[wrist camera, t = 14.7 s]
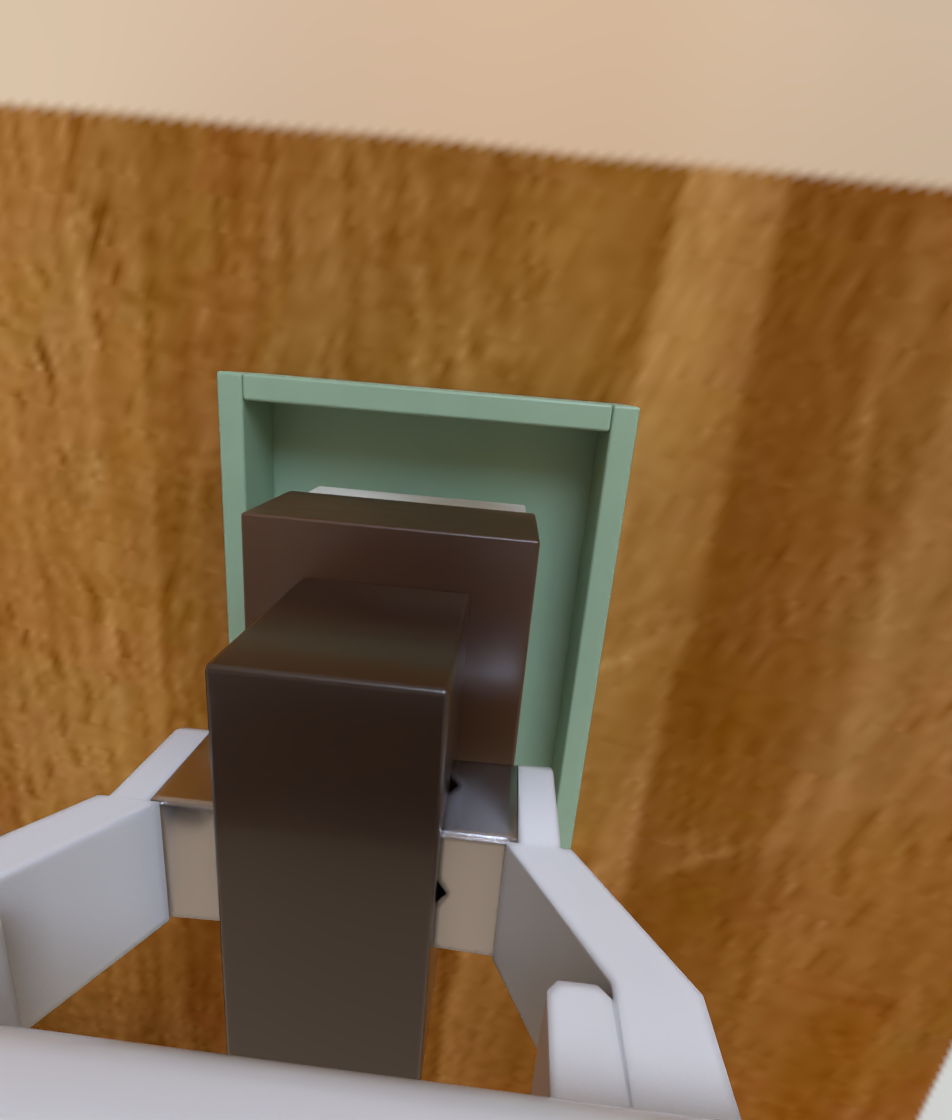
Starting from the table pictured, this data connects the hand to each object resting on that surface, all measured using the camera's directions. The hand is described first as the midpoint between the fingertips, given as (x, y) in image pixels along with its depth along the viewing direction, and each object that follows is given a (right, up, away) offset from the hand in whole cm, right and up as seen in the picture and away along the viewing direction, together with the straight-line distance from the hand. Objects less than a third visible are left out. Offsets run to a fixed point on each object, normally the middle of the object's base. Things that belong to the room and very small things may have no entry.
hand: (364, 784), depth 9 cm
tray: (0, +2, +5) cm, 6 cm away
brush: (0, +1, +4) cm, 4 cm away
